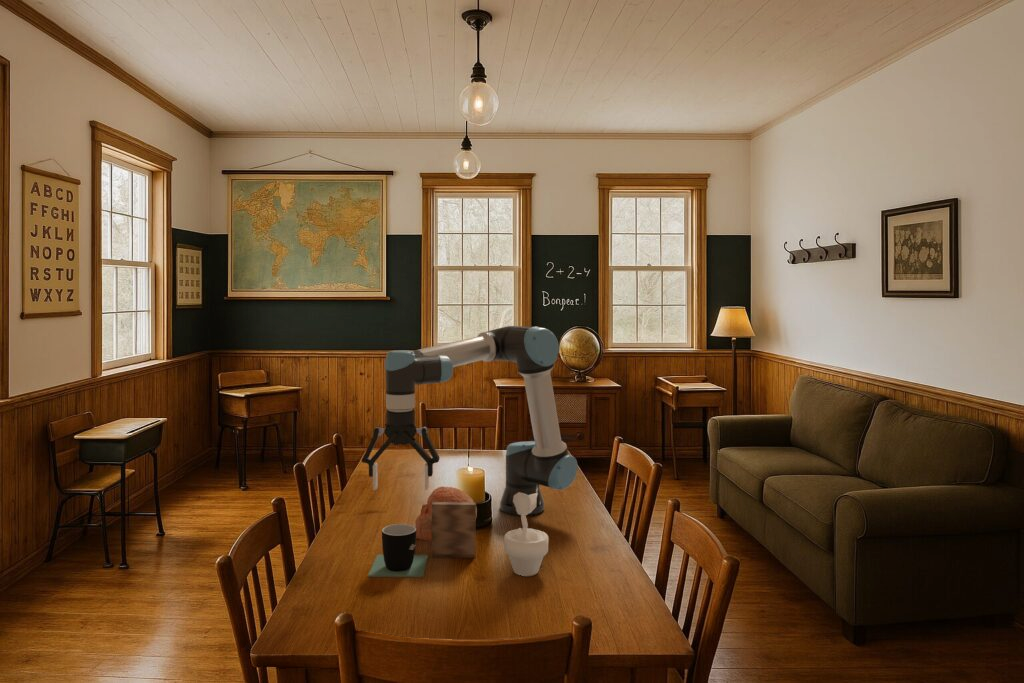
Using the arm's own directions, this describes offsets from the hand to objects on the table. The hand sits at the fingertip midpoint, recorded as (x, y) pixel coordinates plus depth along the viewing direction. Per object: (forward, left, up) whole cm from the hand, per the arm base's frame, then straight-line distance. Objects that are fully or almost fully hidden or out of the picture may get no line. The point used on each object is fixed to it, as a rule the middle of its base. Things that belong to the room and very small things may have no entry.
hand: (401, 488), depth 177 cm
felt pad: (0, 0, -21) cm, 21 cm away
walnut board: (-14, -8, -21) cm, 26 cm away
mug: (0, 0, -21) cm, 21 cm away
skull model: (-11, -22, -21) cm, 32 cm away
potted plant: (-34, +3, -21) cm, 40 cm away
